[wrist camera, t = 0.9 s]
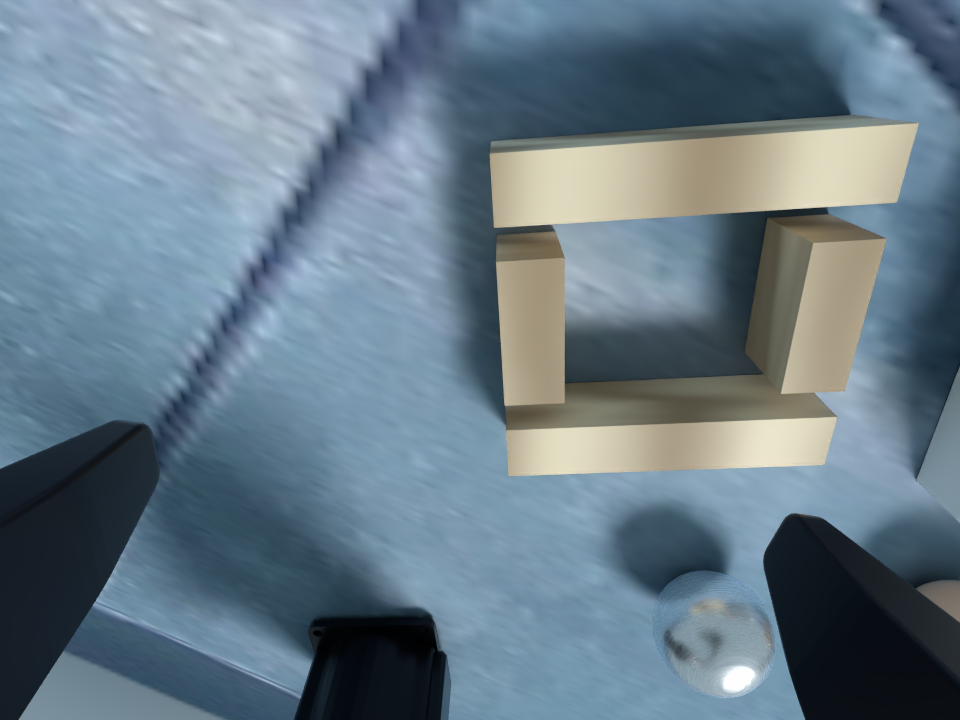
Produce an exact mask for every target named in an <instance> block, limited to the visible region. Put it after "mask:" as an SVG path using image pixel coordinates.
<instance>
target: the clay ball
mask: <svg viewBox="0 0 960 720" xmlns="http://www.w3.org/2000/svg"><path fill="white" fill-rule="evenodd" d="M915 589H917V590H918V591H919V592H921V593H922V594H923V595H925V596H926V597H927V598H929V599H930V600H931V601H932V602H934V603H935V604H936V605H938V606H939V607H940V608H942V609H943V610H944V611H946V612H947V613H948V614H950V615H951V616H952V617H954V618H955V619H956V620H958V621H959V622H960V581H959V580H938V581H933V582H929V583H926V584H923V585H921V586H918V587H917V588H915Z"/></svg>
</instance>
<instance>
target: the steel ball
mask: <svg viewBox="0 0 960 720" xmlns="http://www.w3.org/2000/svg"><path fill="white" fill-rule="evenodd" d="M652 627H653V635H654V640H655V643H656V646H657V649H658V651H659V654H660V655H661V657H662V659H663V661H664V662H665V664H666V665H667V667H668V668H669V669H670V671H671V672H672V673H673V674H674V675H675V676H676V677H677V678H678V679H679V680H680V681H682V682H683V683H684V684H685V685H687V686H689V687H690V688H692V689H694V690H695V691H698V692H700V693H702V694H705V695H708V696H713V697H719V698H732V697H738V696H741V695H744V694H747V693H749V692H751V691H752V690H754V689H755V688H757V687H758V686H759V685H760V684H761V683H762V682H763V681H764V680H765V679H766V677H767V676H768V674H769V673H770V671H771V669H772V666H773V664H774V660H775V655H776V635H775V630H774V627H773V623H772V620H771V618H770V615H769V613H768V612H767V610H766V608H765V606H764V605H763V603H762V602H761V601H760V600H759V598H758V597H757V596H756V595H755V594H754V593H753V592H752V591H751V590H750V589H749V588H748V587H747V586H745V585H744V584H743V583H741V582H740V581H738V580H736V579H734V578H732V577H730V576H728V575H726V574H723V573H719V572H715V571H704V570H701V571H692V572H688V573H685V574H683V575H680V576H679V577H677V578H675V579H674V580H672V581H671V582H670V583H669V584H668V585H667V586H666V587H665V588H664V589H663V590H662V592H661V593H660V595H659V597H658V599H657V601H656V604H655V607H654V611H653V619H652Z"/></svg>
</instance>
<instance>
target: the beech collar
mask: <svg viewBox="0 0 960 720" xmlns="http://www.w3.org/2000/svg"><path fill="white" fill-rule="evenodd" d="M918 124H919V123H914V122H906V121H898V120H890V119H882V118H874V117H866V116H857V115H843V116H829V117H815V118H802V119H788V120H774V121H761V122H747V123H733V124H719V125H706V126H692V127H678V128H664V129H651V130H637V131H623V132H609V133H596V134H582V135H568V136H554V137H541V138H527V139H513V140H499V141H491V146H490V169H491V186H492V202H493V219H494V228H501V227H517V226H533V225H549V224H565V223H581V222H597V221H612V220H628V219H644V218H660V217H676V216H692V215H707V214H723V213H739V212H755V211H771V210H787V209H803V208H818V207H834V206H850V205H866V204H882V203H897V200H898V197H899V193H900V189H901V186H902V182H903V179H904V175H905V171H906V168H907V164H908V160H909V157H910V153H911V150H912V146H913V142H914V139H915V135H916V132H917V128H918ZM886 240H887V239H886V238H884V237H882V236H879V235H877V234H875V233H872V232H870V231H868V230H865V229H863V228H861V227H858V226H856V225H854V224H852V223H849V222H847V221H845V220H842V219H840V218H838V217H835V216H833V215H831V214H824V215H808V216H792V217H776V218H767V223H766V229H765V235H764V241H763V247H762V252H761V258H760V264H759V270H758V276H757V281H756V287H755V293H754V299H753V305H752V311H751V316H750V322H749V328H748V334H747V340H746V346H745V351H744V352H745V353H746V355H747V356H748V357H749V358H750V359H751V360H752V361H753V363H754V364H755V365H756V366H757V367H758V368H759V369H760V371H761V372H762V373H763V374H760V375H738V376H716V377H694V378H673V379H651V380H629V381H607V382H585V383H565V257H564V255H563V252H562V249H561V246H560V243H559V240H558V237H557V235H556V232H555V231H551V232H535V233H519V234H503V235H496V270H497V287H498V303H499V320H500V337H501V354H502V371H503V387H504V404H505V406H506V438H507V455H508V472H509V476H525V475H553V474H581V473H609V472H637V471H665V470H694V469H722V468H750V467H778V466H806V465H824V464H825V460H826V456H827V453H828V449H829V446H830V442H831V438H832V435H833V431H834V427H835V424H836V420H837V416H836V415H835V414H834V413H833V412H832V411H831V410H830V409H829V408H828V407H827V406H826V405H825V404H824V403H823V402H822V401H821V400H820V399H819V398H818V397H817V396H816V395H815V394H814V393H813V392H836V391H845V388H846V384H847V381H848V377H849V373H850V370H851V366H852V363H853V359H854V355H855V352H856V348H857V345H858V341H859V337H860V334H861V330H862V326H863V323H864V319H865V316H866V312H867V308H868V305H869V301H870V298H871V294H872V290H873V287H874V283H875V280H876V276H877V272H878V269H879V265H880V262H881V258H882V254H883V251H884V247H885V243H886Z"/></svg>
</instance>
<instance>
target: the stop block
mask: <svg viewBox="0 0 960 720" xmlns="http://www.w3.org/2000/svg"><path fill="white" fill-rule="evenodd" d="M916 481H917V482H918V483H919V484H920V485H921V486H922V487H923V488H924V489H925V490H926V491H927V492H928V493H929V494H930V495H931V496H932V497H934V498H935V499H936V500H937V501H938V502H939V503H940V504H941V505H942V506H943V507H944V508H945V509H946V510H947V511H948V512H949V513H950V514H951V515H952V516H953V517H954V518H955V519H956V520H957V521H958V522H959V523H960V367H959V370H958V372H957V375H956V377H955V380H954V383H953V385H952V388H951V391H950V393H949V396H948V398H947V401H946V404H945V406H944V409H943V412H942V414H941V417H940V419H939V422H938V425H937V427H936V430H935V433H934V435H933V438H932V440H931V443H930V446H929V448H928V451H927V453H926V456H925V459H924V461H923V464H922V467H921V469H920V472H919V474H918V477H917V480H916Z"/></svg>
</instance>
